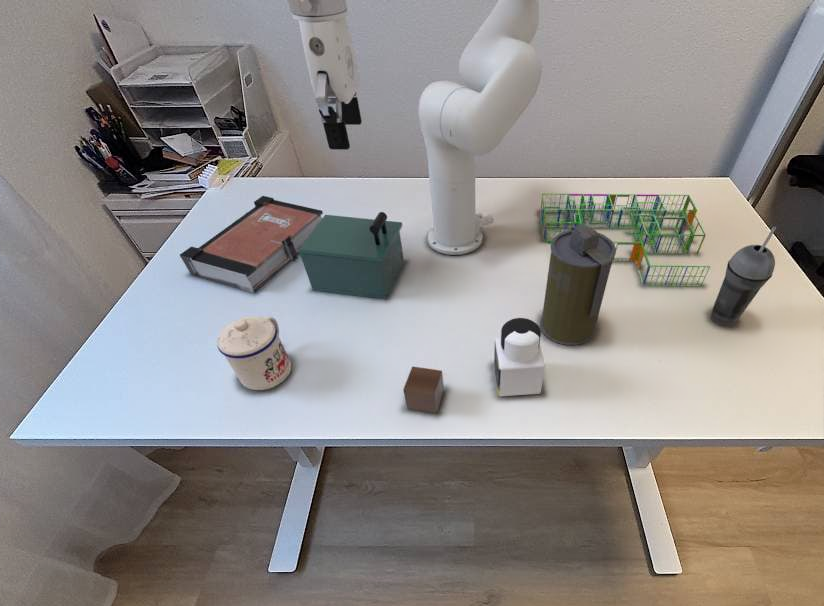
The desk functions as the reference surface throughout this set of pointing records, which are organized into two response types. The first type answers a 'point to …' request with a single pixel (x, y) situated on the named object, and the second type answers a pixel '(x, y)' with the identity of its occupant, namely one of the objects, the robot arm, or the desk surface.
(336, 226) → the lid
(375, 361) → the desk surface
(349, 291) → the tin
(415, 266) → the desk surface
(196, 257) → the book
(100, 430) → the desk surface
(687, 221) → the house model
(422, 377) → the block
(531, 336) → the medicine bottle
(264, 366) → the teacup with lid
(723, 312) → the beverage cup
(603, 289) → the canister
